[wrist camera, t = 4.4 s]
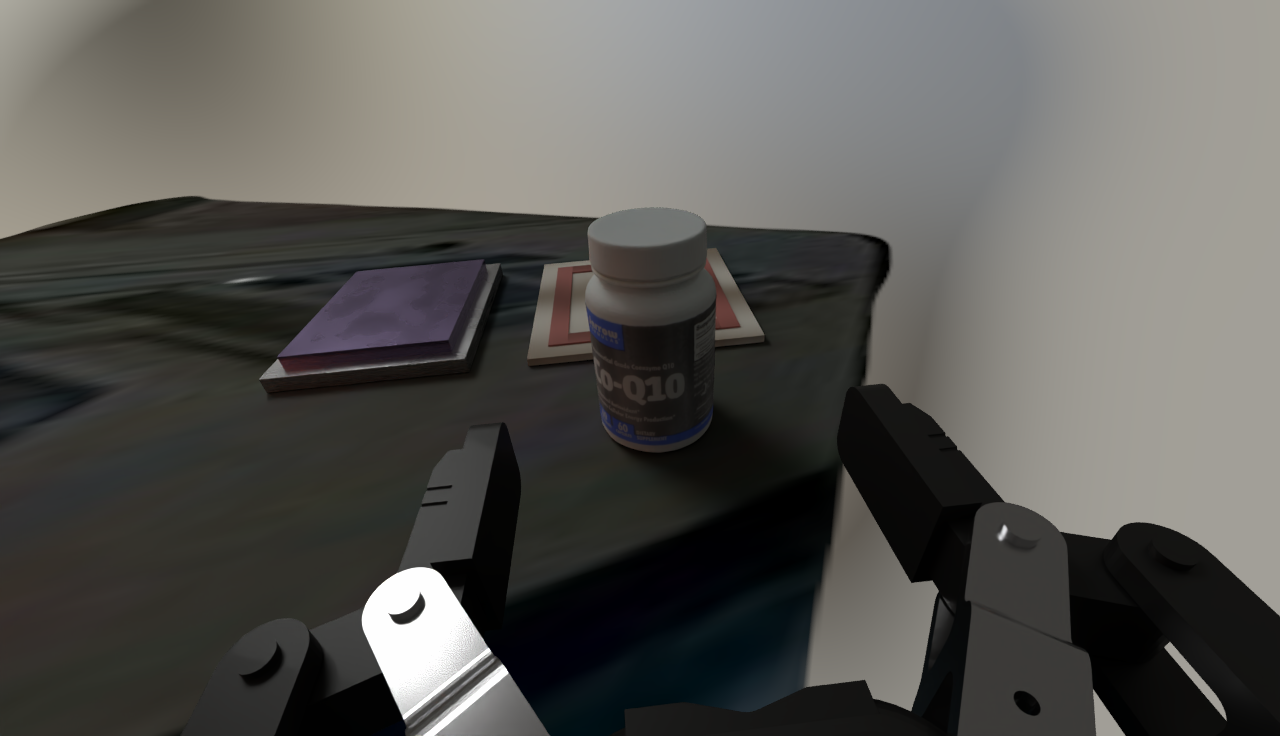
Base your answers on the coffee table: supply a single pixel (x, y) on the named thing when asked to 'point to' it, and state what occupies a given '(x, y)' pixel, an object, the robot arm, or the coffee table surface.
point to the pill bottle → (652, 326)
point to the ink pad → (392, 327)
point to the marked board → (566, 319)
